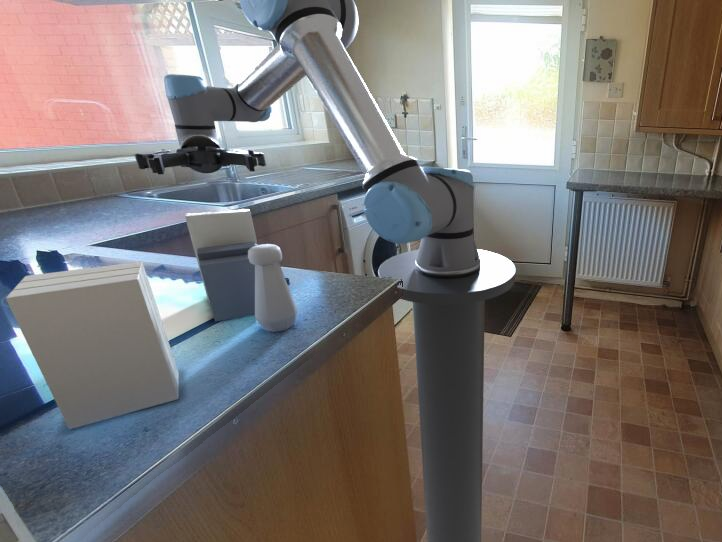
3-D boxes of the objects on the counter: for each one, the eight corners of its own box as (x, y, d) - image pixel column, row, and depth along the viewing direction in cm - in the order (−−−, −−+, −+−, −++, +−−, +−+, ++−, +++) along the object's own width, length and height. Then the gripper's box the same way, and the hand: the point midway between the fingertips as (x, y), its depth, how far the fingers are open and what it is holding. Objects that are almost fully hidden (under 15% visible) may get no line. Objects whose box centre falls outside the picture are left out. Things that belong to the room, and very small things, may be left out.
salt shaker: (253, 336, 61) (234, 253, 56) (262, 319, 66) (245, 241, 61) (297, 332, 62) (282, 251, 57) (302, 315, 67) (288, 239, 62)
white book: (265, 287, 77) (248, 208, 72) (267, 290, 76) (250, 210, 70) (207, 297, 72) (184, 213, 67) (208, 301, 71) (184, 216, 65)
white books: (178, 372, 52) (142, 261, 46) (178, 399, 47) (137, 279, 41) (80, 397, 47) (25, 275, 41) (68, 430, 42) (5, 298, 36)
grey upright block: (265, 294, 75) (253, 238, 71) (272, 310, 69) (260, 250, 65) (212, 303, 70) (196, 245, 66) (215, 322, 64) (197, 259, 60)
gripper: (270, 169, 97) (287, 182, 82) (132, 173, 83) (121, 190, 68) (264, 136, 94) (281, 143, 79) (120, 134, 80) (105, 142, 65)
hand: (207, 165), depth 73 cm, fingers open, 13 cm apart
